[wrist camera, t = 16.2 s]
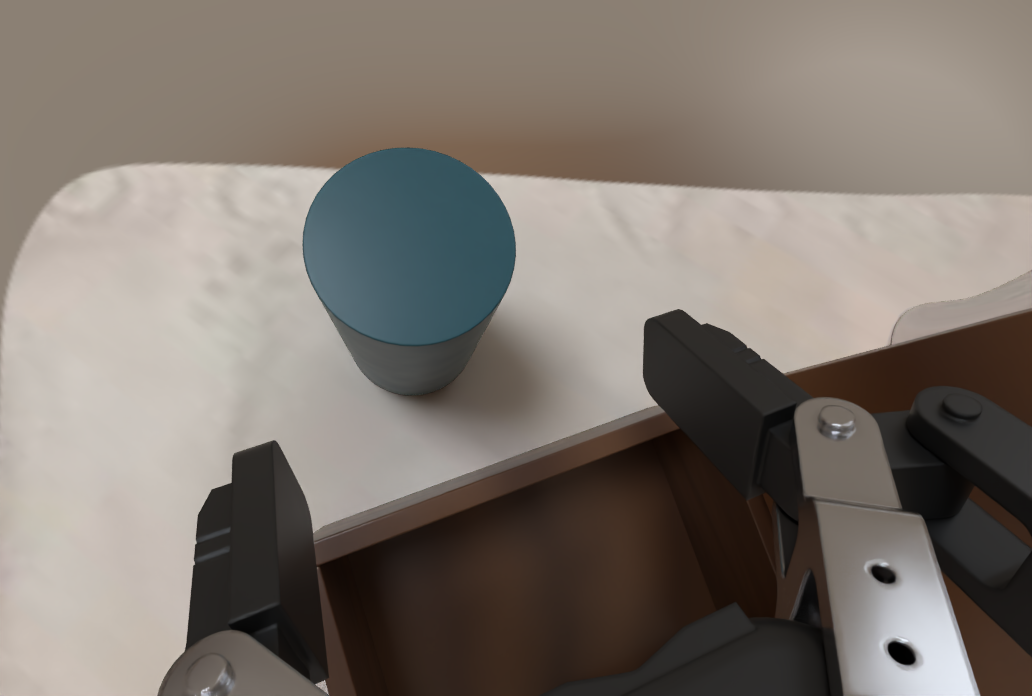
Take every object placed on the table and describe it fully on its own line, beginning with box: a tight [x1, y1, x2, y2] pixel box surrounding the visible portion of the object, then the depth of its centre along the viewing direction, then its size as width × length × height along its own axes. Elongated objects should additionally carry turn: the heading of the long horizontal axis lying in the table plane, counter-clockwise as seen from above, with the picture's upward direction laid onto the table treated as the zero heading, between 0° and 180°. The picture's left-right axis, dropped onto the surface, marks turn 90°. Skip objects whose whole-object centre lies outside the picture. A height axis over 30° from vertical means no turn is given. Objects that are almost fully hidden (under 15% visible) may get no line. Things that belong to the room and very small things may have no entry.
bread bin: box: [313, 405, 777, 696], centre depth 23 cm, size 17×14×7 cm
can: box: [303, 148, 516, 395], centre depth 22 cm, size 6×6×12 cm
